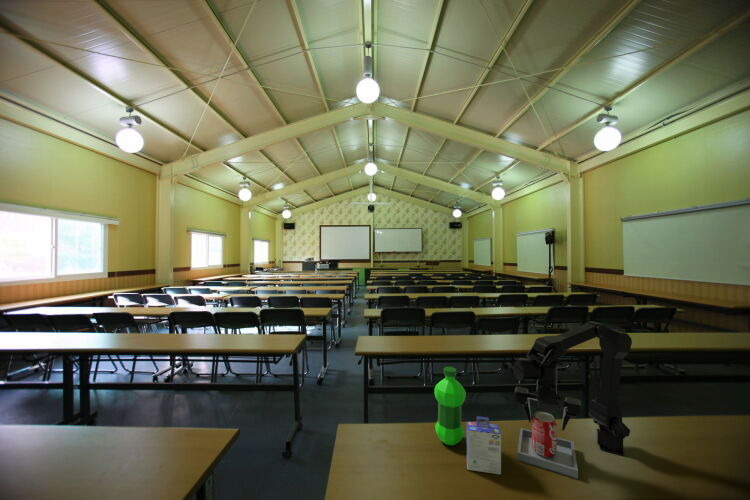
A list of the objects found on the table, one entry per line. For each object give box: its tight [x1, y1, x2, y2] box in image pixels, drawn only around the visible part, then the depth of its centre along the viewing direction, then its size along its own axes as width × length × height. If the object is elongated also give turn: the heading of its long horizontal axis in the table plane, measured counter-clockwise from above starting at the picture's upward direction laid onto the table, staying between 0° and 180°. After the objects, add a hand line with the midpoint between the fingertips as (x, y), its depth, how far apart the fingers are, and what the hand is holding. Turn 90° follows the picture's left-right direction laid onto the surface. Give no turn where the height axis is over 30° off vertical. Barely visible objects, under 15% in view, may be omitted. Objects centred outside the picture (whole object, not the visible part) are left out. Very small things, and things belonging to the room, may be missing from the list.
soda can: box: [531, 410, 558, 458], centre depth 99 cm, size 7×7×12 cm
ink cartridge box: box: [466, 415, 502, 475], centre depth 93 cm, size 10×6×14 cm, turn 78°
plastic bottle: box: [433, 366, 467, 446], centre depth 105 cm, size 10×10×25 cm
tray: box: [516, 427, 579, 480], centre depth 98 cm, size 16×15×2 cm
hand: (546, 426), depth 98 cm, fingers open, 9 cm apart
